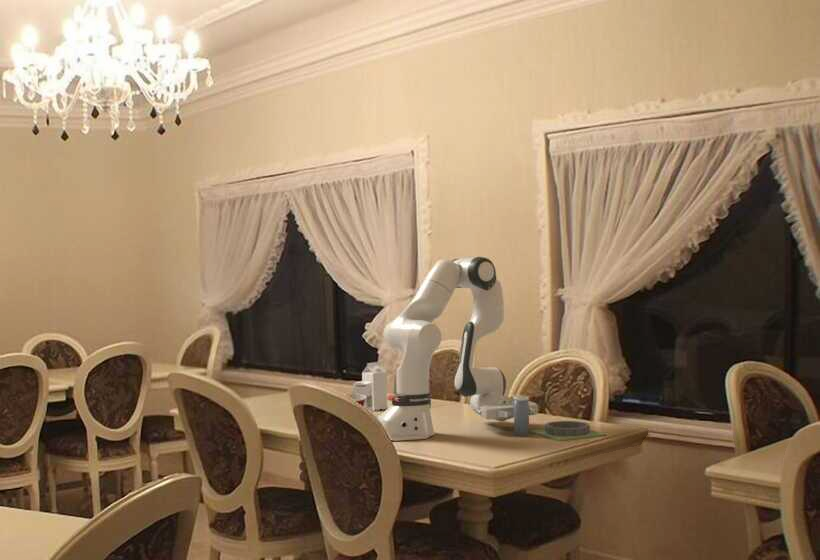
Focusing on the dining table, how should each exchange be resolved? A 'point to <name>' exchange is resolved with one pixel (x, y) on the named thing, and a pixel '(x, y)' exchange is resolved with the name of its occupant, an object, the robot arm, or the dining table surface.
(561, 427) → the practice green
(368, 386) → the syrup box
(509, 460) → the dining table surface
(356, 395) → the plastic cup
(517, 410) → the ball tube
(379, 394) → the milk carton
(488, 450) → the dining table surface
